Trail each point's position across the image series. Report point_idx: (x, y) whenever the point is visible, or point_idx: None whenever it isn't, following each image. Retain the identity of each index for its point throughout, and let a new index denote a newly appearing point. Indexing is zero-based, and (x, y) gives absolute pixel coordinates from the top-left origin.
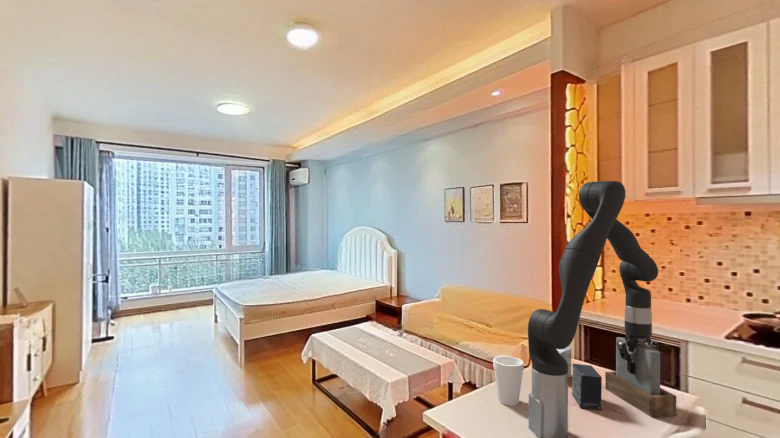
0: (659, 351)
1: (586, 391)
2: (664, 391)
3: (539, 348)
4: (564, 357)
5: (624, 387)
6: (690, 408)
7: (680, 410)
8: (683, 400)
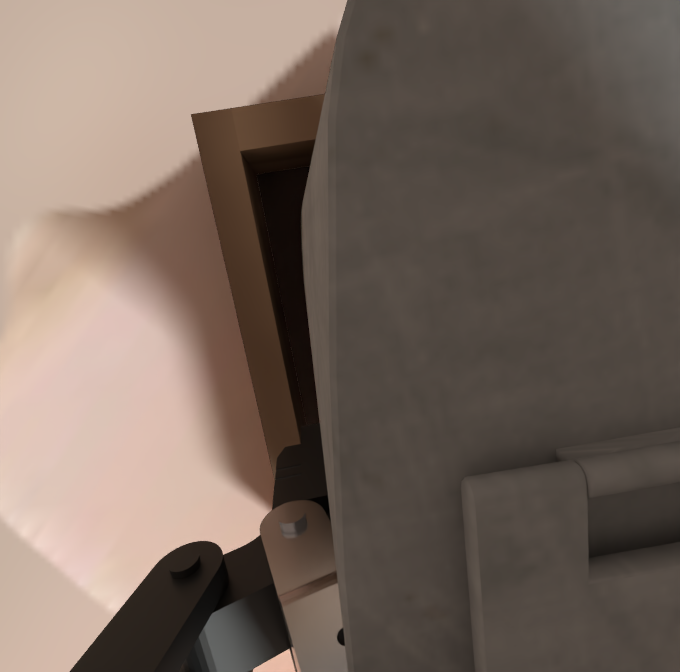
0: None
1: None
2: (244, 220)
3: None
4: None
5: None
6: (44, 268)
7: (139, 236)
8: (20, 387)
